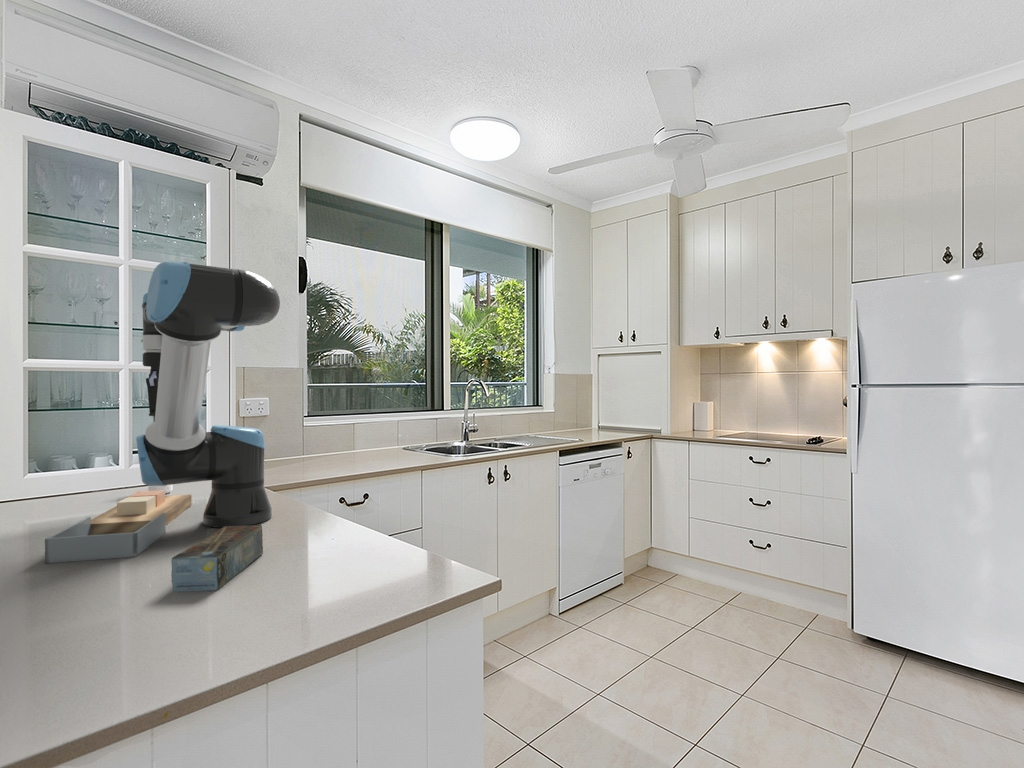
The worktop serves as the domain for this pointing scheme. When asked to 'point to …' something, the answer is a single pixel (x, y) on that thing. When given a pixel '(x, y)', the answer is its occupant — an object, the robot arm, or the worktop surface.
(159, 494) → the terracotta tile
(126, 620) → the worktop surface
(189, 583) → the beverage carton
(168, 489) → the beverage can
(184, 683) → the worktop surface
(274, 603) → the worktop surface
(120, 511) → the sand tile
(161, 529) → the tray
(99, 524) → the oak board
